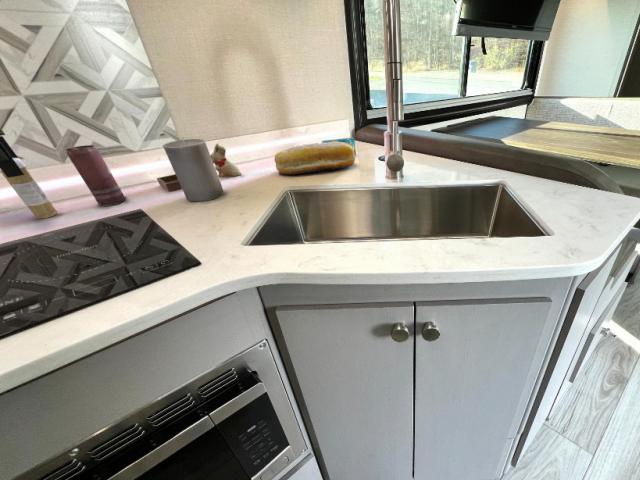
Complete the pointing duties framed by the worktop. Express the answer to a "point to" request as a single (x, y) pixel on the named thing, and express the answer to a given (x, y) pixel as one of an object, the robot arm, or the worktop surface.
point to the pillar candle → (194, 169)
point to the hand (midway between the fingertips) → (16, 171)
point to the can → (96, 174)
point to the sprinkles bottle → (31, 193)
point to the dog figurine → (223, 163)
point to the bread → (315, 158)
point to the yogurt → (344, 140)
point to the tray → (169, 183)
